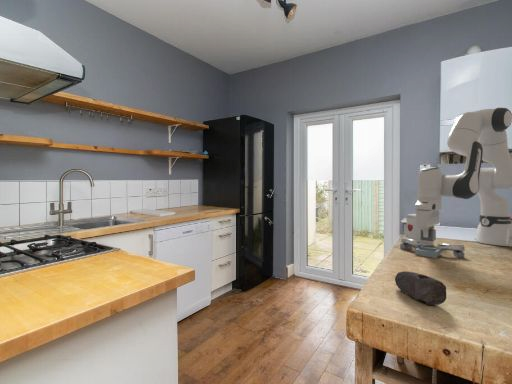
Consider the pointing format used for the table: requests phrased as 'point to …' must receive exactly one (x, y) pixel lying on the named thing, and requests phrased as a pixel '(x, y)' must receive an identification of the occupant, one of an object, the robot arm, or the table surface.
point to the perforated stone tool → (421, 287)
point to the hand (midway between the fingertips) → (428, 236)
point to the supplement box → (415, 230)
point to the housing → (427, 252)
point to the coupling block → (431, 235)
